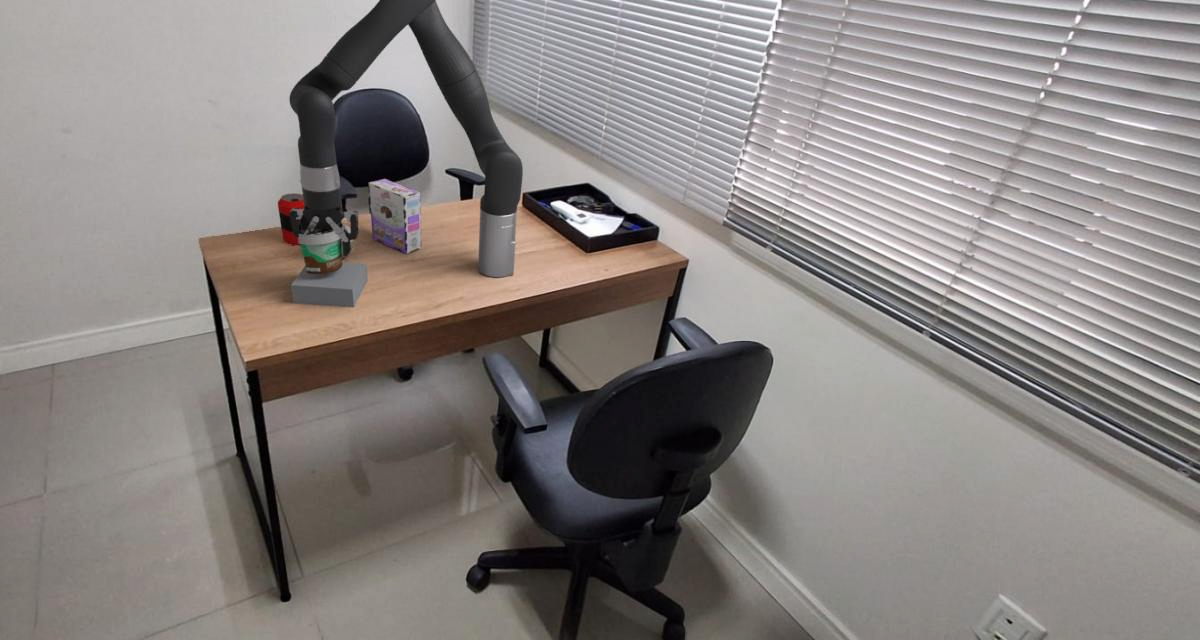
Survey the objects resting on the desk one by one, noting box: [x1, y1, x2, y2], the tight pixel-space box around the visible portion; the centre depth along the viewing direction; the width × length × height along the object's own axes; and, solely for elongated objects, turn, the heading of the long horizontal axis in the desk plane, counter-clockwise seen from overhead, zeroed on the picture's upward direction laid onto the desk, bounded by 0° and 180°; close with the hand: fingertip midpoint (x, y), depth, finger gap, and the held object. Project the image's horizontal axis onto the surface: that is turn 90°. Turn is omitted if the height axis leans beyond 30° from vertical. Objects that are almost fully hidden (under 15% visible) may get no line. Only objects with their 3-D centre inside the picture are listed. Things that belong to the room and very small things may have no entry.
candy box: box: [368, 178, 423, 255], centre depth 166 cm, size 14×6×16 cm, turn 58°
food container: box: [298, 226, 343, 274], centre depth 138 cm, size 12×6×10 cm, turn 169°
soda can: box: [277, 192, 310, 246], centre depth 161 cm, size 8×8×12 cm
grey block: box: [290, 261, 369, 308], centre depth 143 cm, size 13×13×5 cm
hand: (328, 254), depth 139 cm, fingers closed on food container, 7 cm apart
